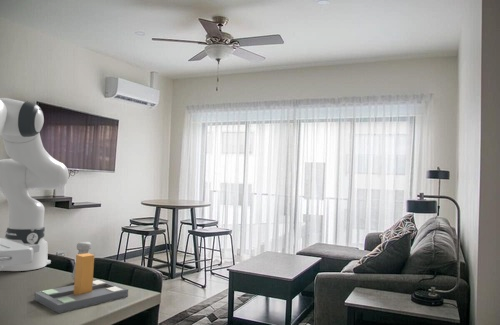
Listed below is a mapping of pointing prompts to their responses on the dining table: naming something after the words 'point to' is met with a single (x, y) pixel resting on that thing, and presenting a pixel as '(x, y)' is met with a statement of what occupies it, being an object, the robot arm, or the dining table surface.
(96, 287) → the panel
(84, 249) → the salt shaker
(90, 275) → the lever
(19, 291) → the dining table surface
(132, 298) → the dining table surface
